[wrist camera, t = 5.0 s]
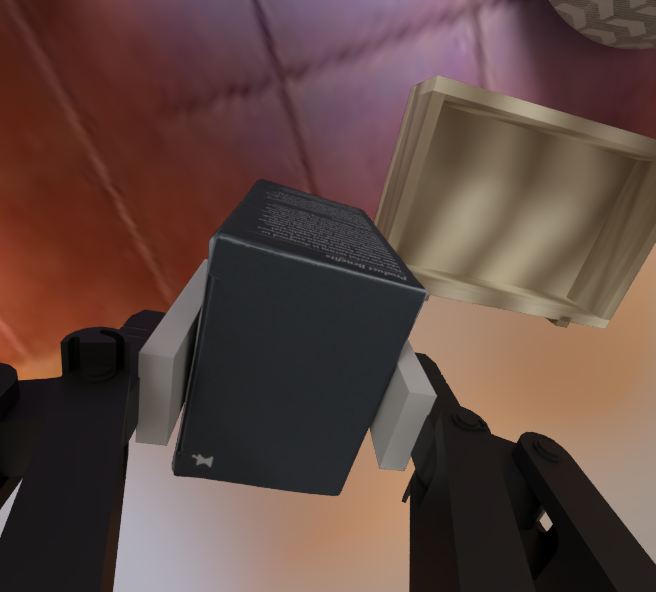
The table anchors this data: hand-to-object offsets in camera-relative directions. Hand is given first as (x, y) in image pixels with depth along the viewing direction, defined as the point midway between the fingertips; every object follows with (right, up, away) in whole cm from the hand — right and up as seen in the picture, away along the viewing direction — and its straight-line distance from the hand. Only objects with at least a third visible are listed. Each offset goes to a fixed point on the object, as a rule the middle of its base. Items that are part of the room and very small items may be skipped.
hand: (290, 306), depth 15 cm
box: (0, +2, +5) cm, 5 cm away
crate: (+16, +8, +16) cm, 24 cm away
